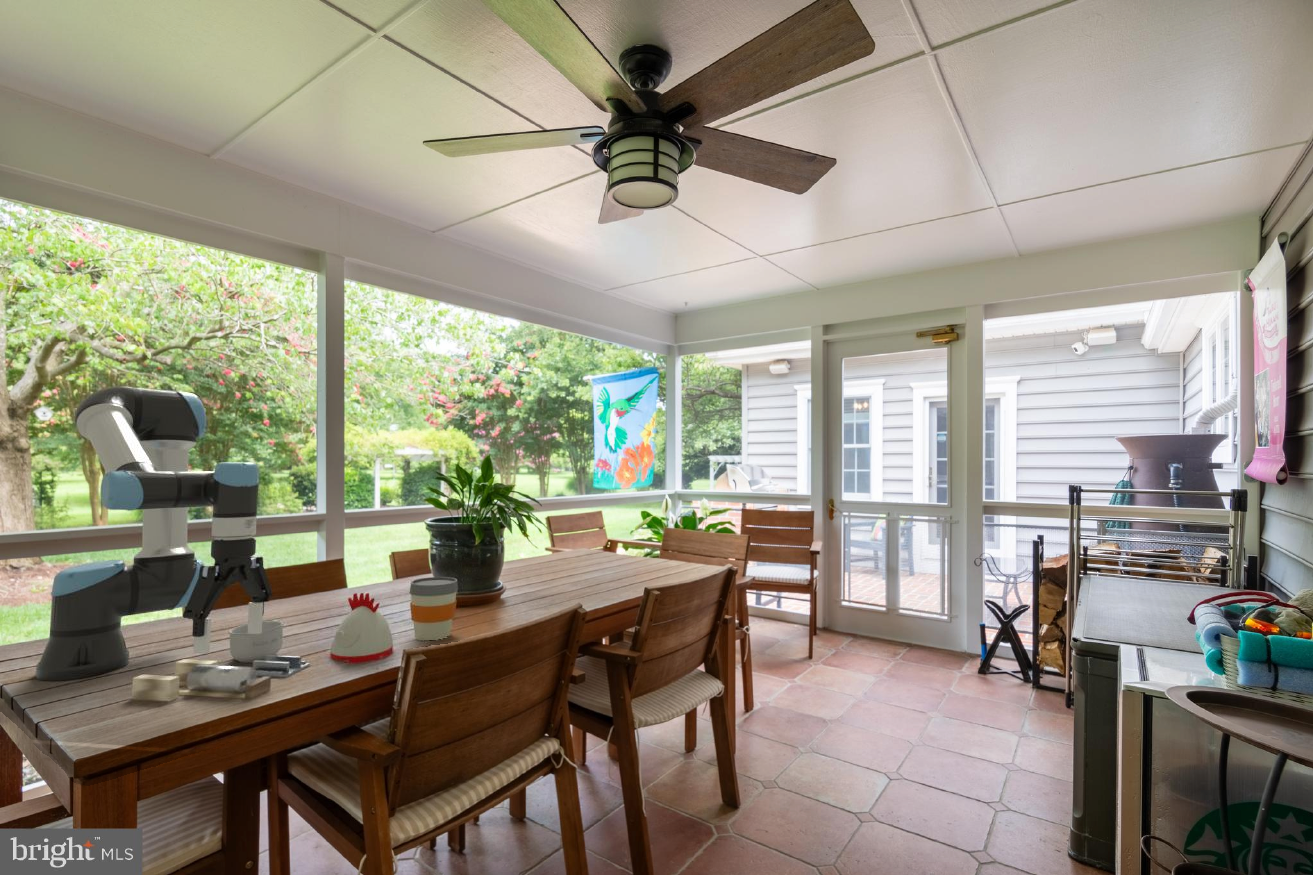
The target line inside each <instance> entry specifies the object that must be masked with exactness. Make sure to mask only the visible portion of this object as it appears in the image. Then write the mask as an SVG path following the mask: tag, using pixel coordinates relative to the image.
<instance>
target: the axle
mask: <svg viewBox="0 0 1313 875" xmlns="http://www.w3.org/2000/svg"><path fill="white" fill-rule="evenodd" d="M257 677H258V676H257V674H256V670H255V669H254V668H253V666H237V665H235V666H234V665H232V666H231V665H219V664H218V665H197V666H195V667H194V668H193V669H192V670H191V671H190V673H189V674H188V677H187V681H186V685H187V687H186V688H187V690H192V691H211V692H229V693H245V685H247V684H249V683H251V682H253V681H256V680H257Z"/></svg>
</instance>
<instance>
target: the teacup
mask: <svg viewBox="0 0 1313 875" xmlns="http://www.w3.org/2000/svg"><path fill="white" fill-rule="evenodd" d="M283 626H284V622H282V621H281V620H280V619H273V620H268V621H267V620H266V621H265V620H264V621H262V633H261V634H248V623H245V624H243V625H239V626H236V627H233V628H231V629H230V630H229V631H228V634H229V649H230V650H229V651H230V652H229V653H230V656H231V657H232V658H233V659H234V660H236V661H239V662H240V663H253V661H255V660H257V661H266V656H267V655H277V654H278V653H279V651H280V650H281V649H282V647H283V643H284V642H283V640H284V639H283V638H284V633H283V632H284V630H283V629H284V627H283Z"/></svg>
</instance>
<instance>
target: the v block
mask: <svg viewBox="0 0 1313 875" xmlns="http://www.w3.org/2000/svg"><path fill="white" fill-rule="evenodd" d="M310 666H311V663H310V662H307V660H302V656H299V655H298V656H297V655H296V656H295V655H294V656H293V655H279V654H278V655H277V654H275V655H267V656H266V660H264V661H257V660H255V661H253V662H252V667H253V668H254V669H255V670H256V674H257V677H260V678H262V677H264V676H265V677H271V678H282V679H286V678H288V677H291V676H292V675H294V674H296V673H298V672H300V671H302V670H304V669H306V668H309V667H310Z"/></svg>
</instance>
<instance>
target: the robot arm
mask: <svg viewBox="0 0 1313 875" xmlns="http://www.w3.org/2000/svg"><path fill="white" fill-rule="evenodd" d="M206 414H207V413H206V409H205V405H204V404H203V402H202V400H201V399H200V397H199V396H198V395H196V394H194V393H191V392H186V391H179V390H173V389H172V390H169V389H157V388H145V387H144V388H143V387H131V386H124V385H123V386H122V385H120V386H109V387H106V388H102V389H100V390H97V391H95V392H93V393H91V394H89V395H88V396H86V397H85V398H83V400H82V401H80V403H79V404H78V406H76V409H75V411H74V415H73V419H74V424H75V426H76V428H77V431H78V433H79V434H80V435H81V436H82V437H84V438H85V439H87V440H88V441H90V443H91V445H92V447H93V449H94V451H95V453H96V455H97V458H98V460H99V461H100V463H101V465H102V466H103V469H104V470H105V474H104V475H103V477H102V479H101V483H100V494H99V495H100V497H101V498H100V499H101V503H102V506H103V507H104V508H105V509H107V510H109V511H111V510H112V511H113V510H115V511H128V512H129V511H130V512H131V511H136V510H138V511H139V510H142V537H141V538H142V542H141V543H142V544H141V550H139V552H138V553H136V554H135V555H134V556H133V564H127V565H126V563H125V561H124V560H122V559H111V560H99V561H94V562H88V563H87V562H86V563H83V564H79V565H78V564H77V565H74V566H70V567H68V568H64V569H63V570H60V571H59V572H57V573H56V575H55V576H54V577H53V582H52V587H51V588H52V589H51V592H50V596H51V605H50V606H51V607H50V623H49V624H50V626H49V638H48V642H47V643H46V646H45V648H44V650H43V653H42V655H41V658H40V660H39V661H38V663H37V665H36V666H35V667H36V668H35V679H37V680H40V681H41V680H42V681H51V682H52V681H53V682H54V681H66V680H67V681H69V680H76V679H83V678H89V677H94V676H98V675H103V674H106V673H110V672H113V671H116V670H118V669H121V668H123V667H125V666H126V665H128V664H129V662H130V651H129V649H128V648H127V645H126V641H125V638H124V636H123V633H122V628H121V626H122V617H128V616H134V615H140V614H148V613H149V614H150V613H154V612H160V611H173V610H175V609H180V608H183V607H184V608H185V609H184V611H183V613H182V617H183V618H184V619H188V620H192V637H193V652H192V653H193V654H209V653H210V650H211V633H212V631H211V629H212V628H211V627H212V618H211V617H209V615H210V614H211V611H213V609H214V607H215V605H216V604H217V602H218V600H219V598H220V597H221V595H223V592H224V590H225V589H228V588H229V587H230V586H231V585H235V584H237V583H239V584H240V586H241V587H242V588H243V590H244V591H245V593H246V594H247V595H248V596H249V598H250V599H251V601H250V602H248V610H247V611H248V613H247V617H248V618H247V624H248V634H261V633H262V622H263V617H264V614H265V603H268V602H269V601H270V598H271V597H272V596H273V589H272V587H271V584H270V581H269V579H268V576H267V573H266V570H265V567H264V557H263V556H255V554H256V550H257V549H256V547H257V539H256V538H255V537H254V536H255V535H256V534H257V515H258V499H259V498H258V497H259V484H260V475H259V471H260V470H259V466H258V464H256V463H255V462H218V463H216V465H215V467H214V470H206V471H201V470H200V471H197V470H196V471H193V470H191V471H189V451H190V450H191V449H192V448H194V447H195V446H196V445H197V439H200V438H202V437H203V436H204V435H205V433H206V427H207V415H206ZM207 507H211V508H212V521H211V522H212V523H211V535H210V536H211V537H212V538H214V539H212V540H210V541H211V542H210V543H211V544H210V546H211V547H210V557H211V558H212V559H214V563H213V565H205V564H204V562H203V560H202V559H201V558H198V557H196V556H195V550H194V549H192V548H191V547H189V546H188V521H189V520H188V513H189V512H188V511H189V510H188V509H189V508H207Z"/></svg>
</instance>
